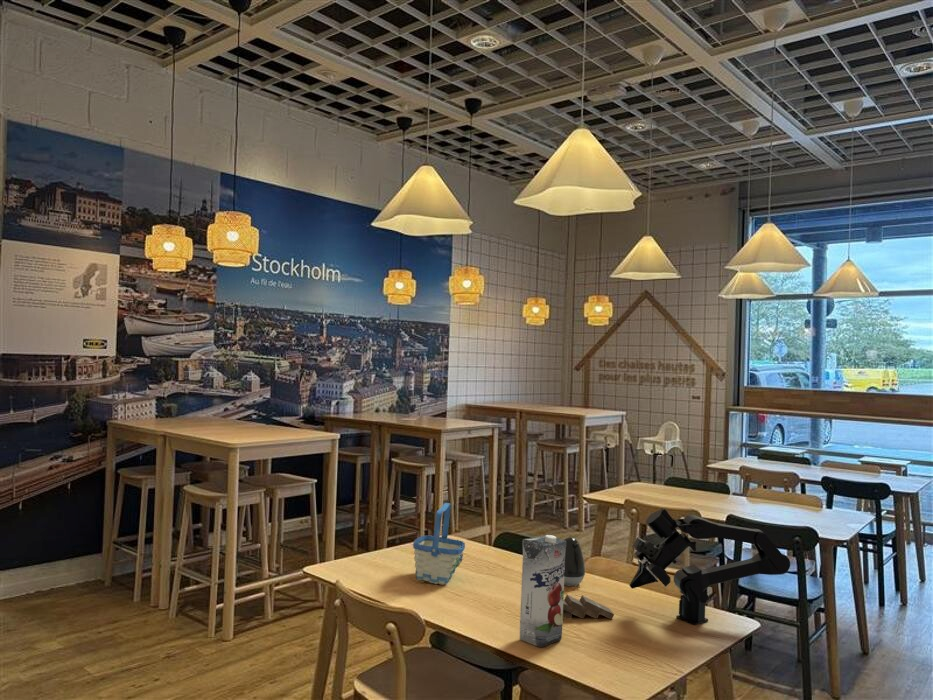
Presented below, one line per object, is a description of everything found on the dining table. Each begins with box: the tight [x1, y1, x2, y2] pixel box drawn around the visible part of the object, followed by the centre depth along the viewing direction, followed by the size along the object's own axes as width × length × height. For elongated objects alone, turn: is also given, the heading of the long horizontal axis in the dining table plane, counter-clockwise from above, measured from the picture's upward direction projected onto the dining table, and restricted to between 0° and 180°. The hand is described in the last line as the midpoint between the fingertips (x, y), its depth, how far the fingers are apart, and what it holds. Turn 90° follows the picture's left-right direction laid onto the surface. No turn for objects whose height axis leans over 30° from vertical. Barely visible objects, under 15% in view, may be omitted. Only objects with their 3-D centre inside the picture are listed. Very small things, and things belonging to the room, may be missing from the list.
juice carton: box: [519, 534, 566, 648], centre depth 179 cm, size 9×10×27 cm
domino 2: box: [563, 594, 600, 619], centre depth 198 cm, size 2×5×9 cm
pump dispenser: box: [563, 536, 586, 587], centre depth 229 cm, size 10×10×15 cm
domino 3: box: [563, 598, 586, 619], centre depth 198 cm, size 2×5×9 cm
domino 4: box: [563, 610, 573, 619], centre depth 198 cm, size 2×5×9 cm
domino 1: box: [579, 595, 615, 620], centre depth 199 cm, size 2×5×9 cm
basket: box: [412, 502, 466, 586], centre depth 229 cm, size 21×16×24 cm
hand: (630, 587), depth 199 cm, fingers closed
